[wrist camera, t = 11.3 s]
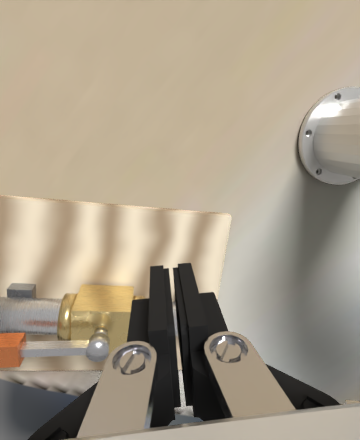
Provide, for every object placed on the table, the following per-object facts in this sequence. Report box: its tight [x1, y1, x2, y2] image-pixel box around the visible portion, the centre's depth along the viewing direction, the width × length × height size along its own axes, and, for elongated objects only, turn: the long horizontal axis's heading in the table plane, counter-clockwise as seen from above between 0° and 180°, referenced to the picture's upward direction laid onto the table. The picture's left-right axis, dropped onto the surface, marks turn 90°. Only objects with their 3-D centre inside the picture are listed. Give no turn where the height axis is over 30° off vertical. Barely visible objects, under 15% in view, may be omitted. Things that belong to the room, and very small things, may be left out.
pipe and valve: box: [0, 283, 178, 353], centre depth 37 cm, size 30×6×8 cm, turn 84°
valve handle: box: [0, 333, 110, 368], centre depth 31 cm, size 3×15×2 cm, turn 86°
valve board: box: [0, 195, 232, 371], centre depth 41 cm, size 34×26×2 cm
